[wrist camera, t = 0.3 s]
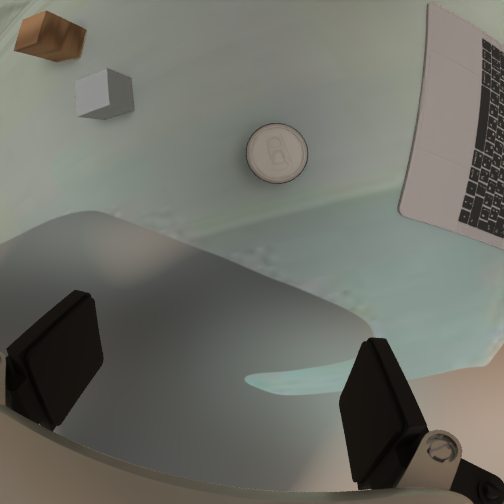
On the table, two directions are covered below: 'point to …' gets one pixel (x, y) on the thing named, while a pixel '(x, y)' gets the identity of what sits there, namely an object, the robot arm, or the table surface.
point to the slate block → (104, 95)
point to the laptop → (458, 132)
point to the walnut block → (50, 37)
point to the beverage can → (276, 153)
